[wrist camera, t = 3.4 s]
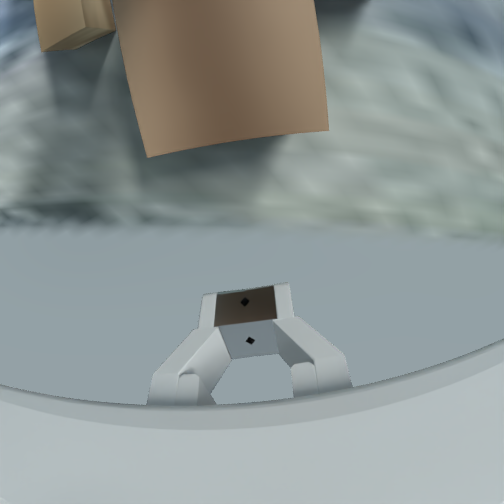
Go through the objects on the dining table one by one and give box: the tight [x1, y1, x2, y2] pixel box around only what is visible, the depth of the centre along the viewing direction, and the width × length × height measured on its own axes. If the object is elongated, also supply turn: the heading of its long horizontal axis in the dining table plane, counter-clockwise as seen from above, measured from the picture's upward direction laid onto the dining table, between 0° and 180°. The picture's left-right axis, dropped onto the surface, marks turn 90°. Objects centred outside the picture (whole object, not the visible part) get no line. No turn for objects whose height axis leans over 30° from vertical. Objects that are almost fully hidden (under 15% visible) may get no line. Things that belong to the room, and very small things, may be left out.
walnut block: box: [112, 0, 329, 158], centre depth 9 cm, size 6×7×5 cm
